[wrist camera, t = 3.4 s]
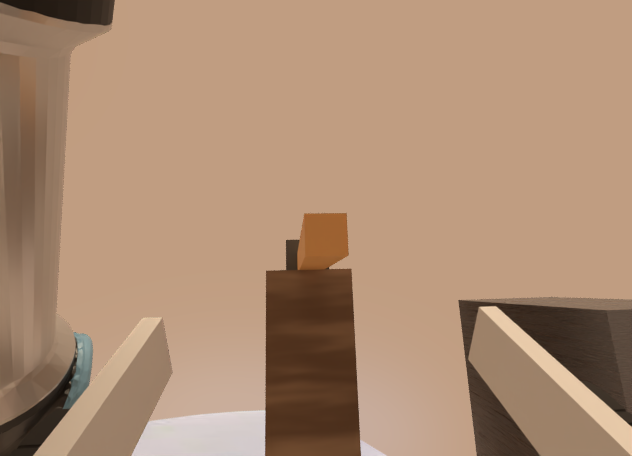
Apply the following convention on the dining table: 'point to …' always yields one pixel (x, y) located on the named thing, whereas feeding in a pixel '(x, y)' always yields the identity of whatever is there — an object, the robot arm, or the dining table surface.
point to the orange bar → (318, 242)
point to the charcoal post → (561, 343)
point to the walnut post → (311, 364)
